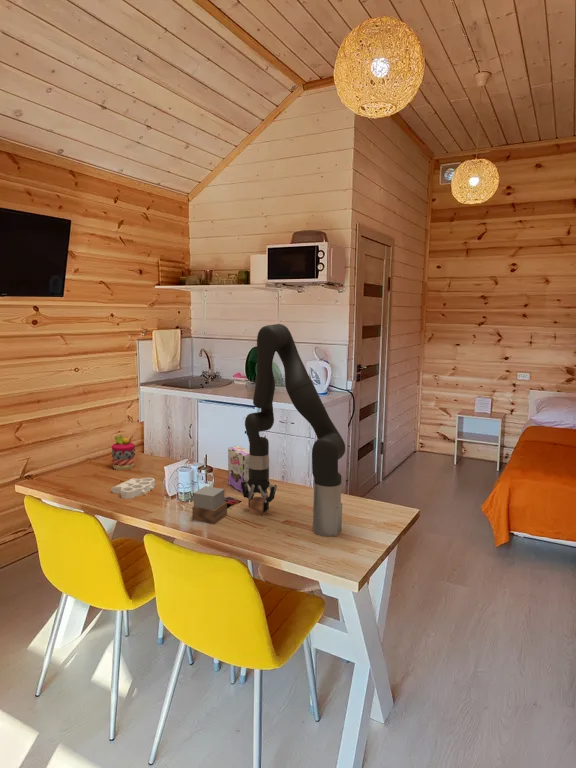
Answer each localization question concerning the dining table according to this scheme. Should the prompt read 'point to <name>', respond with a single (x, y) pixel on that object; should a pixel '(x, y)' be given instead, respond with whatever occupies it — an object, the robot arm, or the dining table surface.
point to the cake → (123, 454)
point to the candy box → (238, 467)
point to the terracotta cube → (257, 506)
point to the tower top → (209, 498)
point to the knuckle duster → (134, 487)
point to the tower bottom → (209, 514)
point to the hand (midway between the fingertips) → (258, 509)
